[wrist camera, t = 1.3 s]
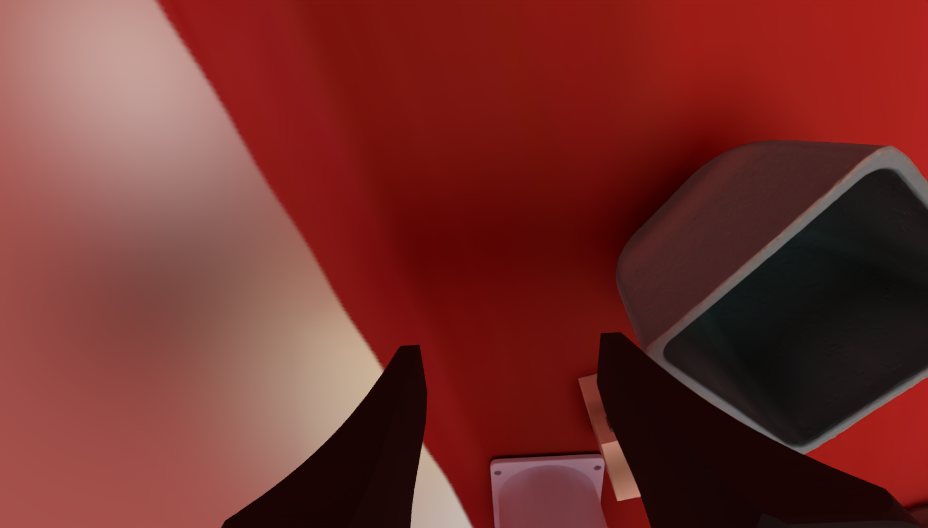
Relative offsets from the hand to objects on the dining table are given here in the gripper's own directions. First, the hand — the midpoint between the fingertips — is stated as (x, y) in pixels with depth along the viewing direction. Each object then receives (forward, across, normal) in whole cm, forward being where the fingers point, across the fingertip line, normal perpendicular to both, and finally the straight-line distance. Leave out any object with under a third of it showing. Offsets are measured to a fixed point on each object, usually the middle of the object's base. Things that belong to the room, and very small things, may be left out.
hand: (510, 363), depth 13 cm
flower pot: (+10, -10, 0) cm, 14 cm away
